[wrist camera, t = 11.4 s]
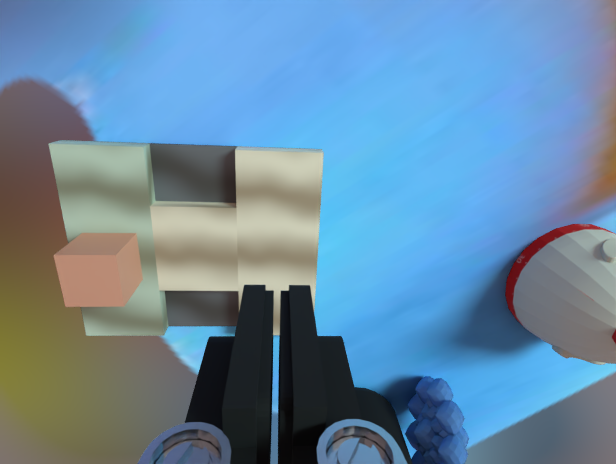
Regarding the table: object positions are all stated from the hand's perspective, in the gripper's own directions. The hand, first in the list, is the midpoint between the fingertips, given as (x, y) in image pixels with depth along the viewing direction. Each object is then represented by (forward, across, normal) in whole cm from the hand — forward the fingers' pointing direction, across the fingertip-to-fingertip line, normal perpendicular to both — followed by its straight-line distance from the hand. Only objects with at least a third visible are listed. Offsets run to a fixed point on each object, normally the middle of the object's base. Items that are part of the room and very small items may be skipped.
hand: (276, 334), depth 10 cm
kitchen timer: (+29, -33, +14) cm, 46 cm away
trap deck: (+29, +8, +10) cm, 32 cm away
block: (+27, +16, +11) cm, 33 cm away
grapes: (+29, -19, +31) cm, 47 cm away
